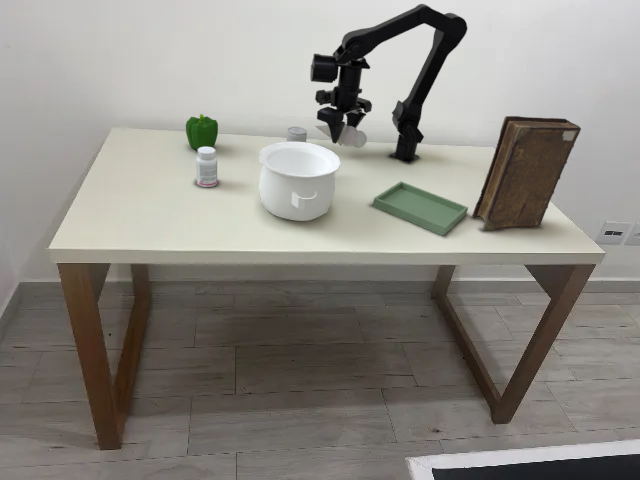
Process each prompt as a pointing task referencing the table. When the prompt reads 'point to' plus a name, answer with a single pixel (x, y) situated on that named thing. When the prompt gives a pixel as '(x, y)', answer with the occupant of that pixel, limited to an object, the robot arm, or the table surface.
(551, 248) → the table surface
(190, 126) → the bell pepper
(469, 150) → the table surface
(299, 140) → the beverage can
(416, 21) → the robot arm
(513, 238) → the table surface
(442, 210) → the tray
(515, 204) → the book
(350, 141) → the ice cream cone
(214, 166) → the pill bottle
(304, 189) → the pot
